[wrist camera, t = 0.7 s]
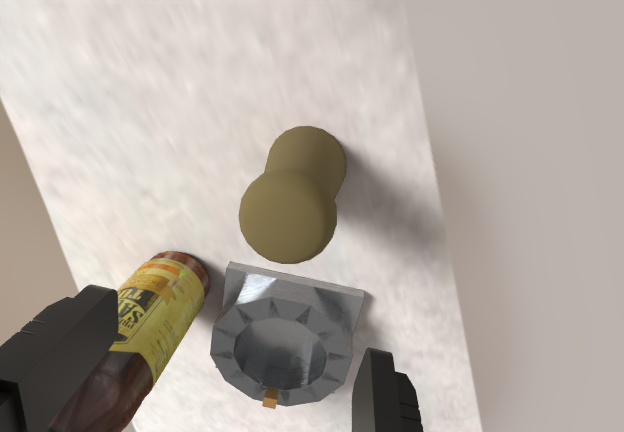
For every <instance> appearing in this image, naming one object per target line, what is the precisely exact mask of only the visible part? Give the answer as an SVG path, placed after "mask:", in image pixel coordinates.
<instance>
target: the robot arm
mask: <svg viewBox="0 0 624 432" xmlns="http://www.w3.org/2000/svg"><path fill="white" fill-rule="evenodd" d="M118 330H119V314H118V293H117V291H116V290H114V289H109V288H105V287H101V286H96V285H88V286H87V287H85V288H84V289H83V290H82V291H81V292H80V293H79V294H78V295H76V296H75V297H74V298H69V297H66V298H64V299H62V300H60V301H58V302H56V303H54V304H52V305H49V306H47V307H46V308H45V309H44V310H43V311H42V312H40V313H39V314H38V315H37V316H36V317H35V318H33V321H32V322H31V321H30V322H29V323H28V324H26V325H25V326H24V327H23V328H22V329H21V331H20V332H17V333H16V334H15V335H13V336H12V337H11V338H10V339H9V340H7V341H6V342H5V343H4V344H3V345H2V346H1V347H0V432H43V431H44V430H45V429H46V428H47V426H48V425H49V424H50V423H51V421H52V420H53V419H54V418H55V416H56V415H57V414H58V413H59V411H60V410H61V409H62V408H63V406H64V405H65V404H66V403H67V401H68V400H69V399H70V398H71V396H72V395H73V394H74V393H75V391H76V390H77V389H78V388H79V386H80V385H81V384H82V383H83V381H84V380H85V379H86V378H87V377H88V375H89V374H90V373H91V372H92V370H93V369H94V368H95V367H96V365H97V364H98V363H99V362H100V360H101V359H102V358H103V357H104V355H105V354H106V353H107V352H108V350H109V349H110V348H111V346H112V345H113V343H114V341H115V339H116V337H117V334H118ZM418 408H419V405H418V400H417V395H416V390H415V388H414V386H413V385H412V383H411V381H410V380H409V378H408V376H407V375H406V374H404V373H399V372H395V368H394V361H393V355H392V353H391V352H386V351H382V350H377V349H373V348H367V349H366V351H365V354H364V357H363V360H362V363H361V366H360V368H359V371H358V374H357V377H356V380H355V383H354V388H353V394H352V432H423V426H422V424H421V416H420V411H419V410H418Z"/></svg>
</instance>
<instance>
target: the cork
mask: <svg viewBox="0 0 624 432" xmlns="http://www.w3.org/2000/svg"><path fill="white" fill-rule="evenodd" d="M345 173H346V157H345V154H344V152H343V149H342V146H341V145H340V144H339V143H338V141H337V140H336V139H335V138H334V136H332V135H330V134H329V133H327V132H326V131H324V130H323V129H319V128H316V127H312V126H300V127H295V128H293V129H290V130H287V131H285V132H284V133H283V134H282V135H281V136H279V137H278V138H277V139H276V140H275V142H274V144H273V145H272V147H271V149H270V152H269V156H268V159H267V163H266V167H265V171H264V174H262V175H261V176H259V177H258V178H257V179H256V180H255V181H253V182H252V183H251V184H250V186H249V187H248V189H247V190H246V192H245V194H244V196H243V197H242V199H241V205H240V210H239V222H240V228H241V232H242V234H243V235H244V237H245V239H246V241H247V243H248V244H249V245H250V246H251V247H252V248H253V249H254V250H255V251H256V252H257V253H258V254H259V255H261V256H263V257H264V258H266V259H268V260H269V261H273V262H277V263H281V264H297V263H301V262H304V261H307V260H311V259H312V258H314V257H315V256H317V255H318V254H320V253H321V252H322V251H323V250H324V248H325V247H326V246H327V244H328V243H329V242H330V240H331V239H332V238H333V234H334V231H335V228H336V225H337V212H336V204H335V201H334V199H335V197H336V195H337V193H338V191H339V189H340V187H341V185H342V182H343V180H344V176H345Z"/></svg>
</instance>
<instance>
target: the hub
mask: <svg viewBox="0 0 624 432" xmlns="http://www.w3.org/2000/svg"><path fill="white" fill-rule="evenodd" d="M363 300H364V290H359V289H354V288H350V287H345V286H341V285H336V284H331V283H327V282H322V281H317V280H313V279H308V278H304V277H299V276H294V275H290V274H285V273H280V272H276V271H271V270H267V269H262V268H257V267H253V266H248V265H243V264H239V263H234V262H230V263H229V264H228V266H227V269H226V278H225V287H224V296H223V305H222V309H221V311H220V313H219V316H218V318H217V320H216V322H215V324H214V326H213V331H212V341H211V351H210V355H211V357H212V359H213V361H214V362H215V364H216V368H218V369H219V371H220V373H221V374H222V376H223V378H224V380H225V381H226V382H228V383H229V384H231V385H232V386H234V387H235V388H237V389H238V390H240V391H241V392H243V393H244V394H246V395H248V396H249V397H251V398H252V399H255V400H259V401H263V405H262V406H264V407H269V408H273V409H275V408H276V404H278V405H282V406H293V405H299V404H305V403H312V402H318V401H321V400H322V399H323V398H325V397H326V396H327V395H329V394H330V393H334V392H335V390H336V389H337V388H339V387H340V386H341V385H343V384H344V381H345V378H346V375H347V372H348V369H349V366H350V363H351V360H352V335H353V332H354V329H355V326H356V323H357V319H358V316H359V313H360V310H361V307H362V304H363Z"/></svg>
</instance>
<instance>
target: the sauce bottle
mask: <svg viewBox="0 0 624 432" xmlns="http://www.w3.org/2000/svg"><path fill="white" fill-rule="evenodd" d="M209 287H210V285H209V278H208V275H207V272H206V271H205V269H204V268H203V266H202V265H201V264H200V263H199V262H198V261H197V260H196V259H194V258H192V257H191V256H189V255H186V254H184V253H179V252H168V251H167V252H164V253H159V254H157V255H156V256H154V257H153V258H151V259H150V260H149V261H147V262H145V263H144V264H143V265H142V266H141V267H140V268H139V269H138V270H137V271H136V272H135V273H134V274H133V275H132V276H131V277H130V278H129V279H128V280H127V281H126V282H125V283H124V284H123V285H122V286H121V287H120V288H119V289H118V290H117V293H118V314H119V330H118V334H117V337H116V339H115V341H114V343H113V345H112V346H111V348H110V349H109V350H108V352H107V353H106V354H105V355H104V357H103V358H102V359H101V360H100V362H99V363H98V364H97V365H96V367H95V368H94V369H93V370H92V372H91V373H90V374H89V375H88V377H87V378H86V379H85V380H84V381H83V383H82V384H81V385H80V386H79V388H78V389H77V390H76V391H75V393H74V394H73V395H72V396H71V398H70V399H69V400H68V401H67V403H66V404H65V405H64V406H63V408H62V409H61V410H60V411H59V413H58V414H57V415H56V416H55V418H54V419H53V420H52V421H51V423H50V424H49V425H48V426H47V428H46V429H45V430H44V431H43V432H121V431H122V430H123V429H124V428H125V427H126V426H127V425H128V424H129V422H130V421H131V420H132V418H133V417H134V415H135V413H136V411H137V410H138V408H139V407H140V405H141V403H142V401H143V400H144V398H145V397H146V396H147V395H148V394H149V393H150V391H151V390H152V388H153V387H154V385H155V383H156V382H157V380H158V378H159V377H160V375H161V373H162V372H163V370H164V369H165V367H166V365H167V364H168V362H169V360H170V359H171V357H172V355H173V354H174V352H175V350H176V349H177V347H178V345H179V344H180V342H181V340H182V339H183V337H184V336H185V334H186V332H187V331H188V329H189V327H190V326H191V324H192V322H193V321H194V319H195V317H196V316H197V314H198V312H199V311H200V309H201V308H202V306H203V304H204V299H205V297H206V295H207V294H208V292H209Z"/></svg>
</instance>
